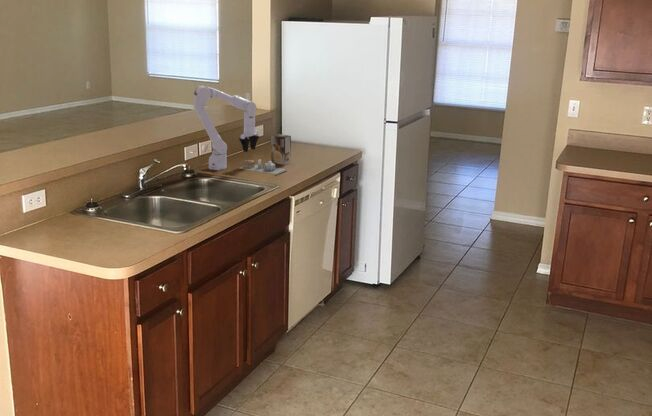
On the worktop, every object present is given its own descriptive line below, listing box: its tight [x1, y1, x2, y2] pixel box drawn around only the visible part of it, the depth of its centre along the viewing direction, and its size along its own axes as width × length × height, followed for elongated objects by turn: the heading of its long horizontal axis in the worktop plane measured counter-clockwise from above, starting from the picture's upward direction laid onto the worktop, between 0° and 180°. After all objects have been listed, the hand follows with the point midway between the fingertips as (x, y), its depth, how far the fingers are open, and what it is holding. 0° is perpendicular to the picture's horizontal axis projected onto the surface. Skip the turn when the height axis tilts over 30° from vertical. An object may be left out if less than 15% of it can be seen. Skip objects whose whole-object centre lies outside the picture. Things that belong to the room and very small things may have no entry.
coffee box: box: [270, 133, 292, 166], centre depth 363 cm, size 9×6×16 cm
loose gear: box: [243, 159, 256, 168], centre depth 352 cm, size 6×6×3 cm
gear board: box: [239, 159, 288, 177], centre depth 349 cm, size 12×22×6 cm, turn 66°
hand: (249, 150), depth 352 cm, fingers open, 7 cm apart
